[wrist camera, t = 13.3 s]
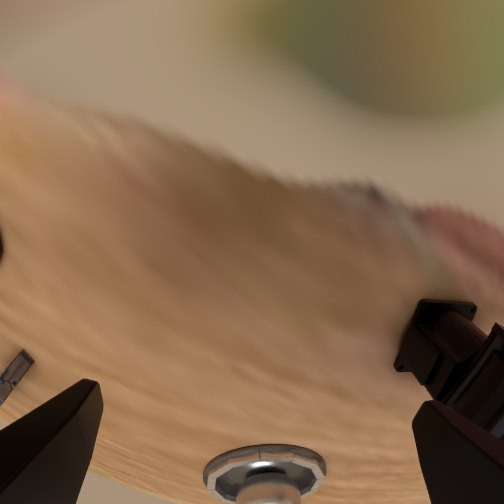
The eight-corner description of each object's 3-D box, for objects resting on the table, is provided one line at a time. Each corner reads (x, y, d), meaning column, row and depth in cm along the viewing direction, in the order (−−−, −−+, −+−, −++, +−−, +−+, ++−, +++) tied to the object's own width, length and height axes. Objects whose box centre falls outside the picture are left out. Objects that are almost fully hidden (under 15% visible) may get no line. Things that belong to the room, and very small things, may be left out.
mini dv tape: (23, 348, 22) (-10, 388, 16) (35, 360, 22) (3, 402, 16) (-2, 379, 23) (-29, 414, 17) (7, 389, 23) (-18, 425, 18)
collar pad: (341, 442, 26) (345, 452, 25) (306, 499, 30) (308, 507, 29) (206, 439, 25) (205, 450, 24) (201, 497, 29) (200, 506, 28)
